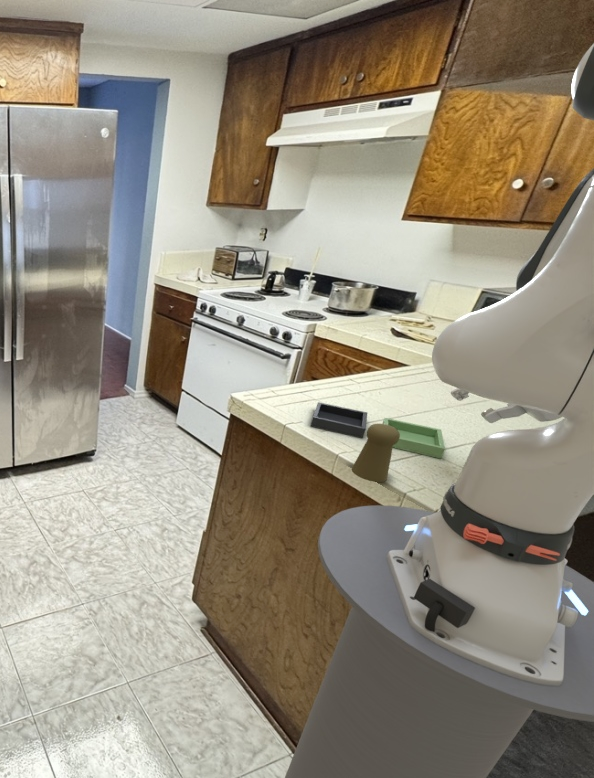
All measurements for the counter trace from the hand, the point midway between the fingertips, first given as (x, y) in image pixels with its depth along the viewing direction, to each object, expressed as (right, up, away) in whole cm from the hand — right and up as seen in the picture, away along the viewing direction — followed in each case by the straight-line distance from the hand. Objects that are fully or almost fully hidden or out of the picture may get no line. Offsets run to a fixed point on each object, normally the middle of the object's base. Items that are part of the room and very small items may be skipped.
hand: (468, 407), depth 87 cm
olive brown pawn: (-11, -14, +10) cm, 21 cm away
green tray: (+7, -9, +21) cm, 24 cm away
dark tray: (-4, -5, +29) cm, 30 cm away
